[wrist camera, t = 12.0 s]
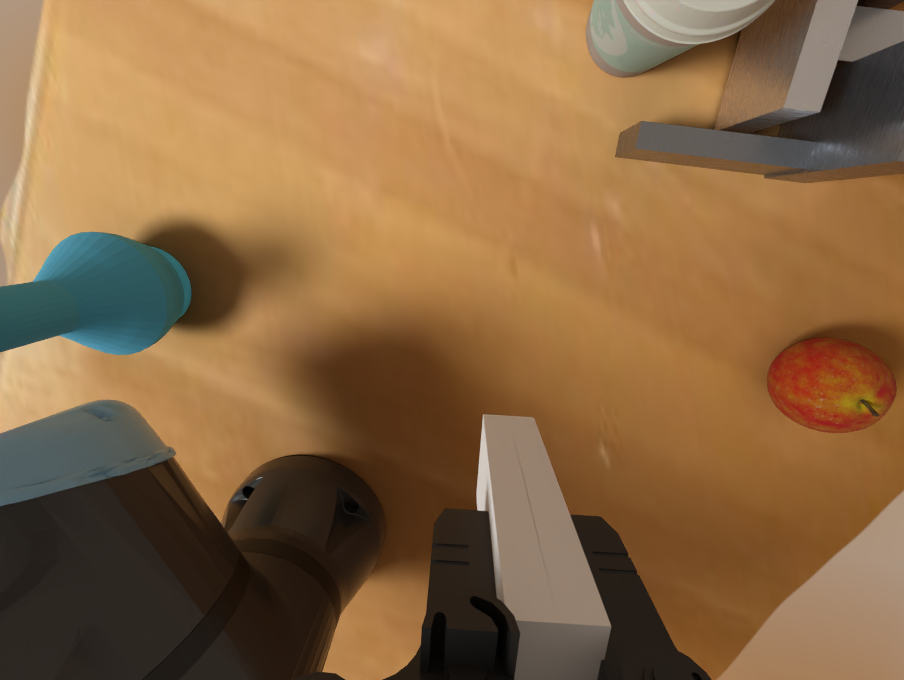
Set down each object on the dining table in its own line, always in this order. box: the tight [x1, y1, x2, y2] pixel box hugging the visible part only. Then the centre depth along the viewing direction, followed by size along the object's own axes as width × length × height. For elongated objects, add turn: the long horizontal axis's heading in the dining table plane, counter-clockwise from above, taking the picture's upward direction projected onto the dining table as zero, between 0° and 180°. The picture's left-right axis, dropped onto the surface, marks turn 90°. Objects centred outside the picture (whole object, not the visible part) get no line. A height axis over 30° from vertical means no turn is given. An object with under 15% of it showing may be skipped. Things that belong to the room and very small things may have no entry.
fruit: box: [767, 338, 897, 433], centre depth 31 cm, size 7×7×8 cm
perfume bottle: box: [0, 232, 192, 355], centre depth 28 cm, size 9×9×15 cm
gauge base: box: [615, 0, 904, 183], centre depth 23 cm, size 14×16×10 cm
